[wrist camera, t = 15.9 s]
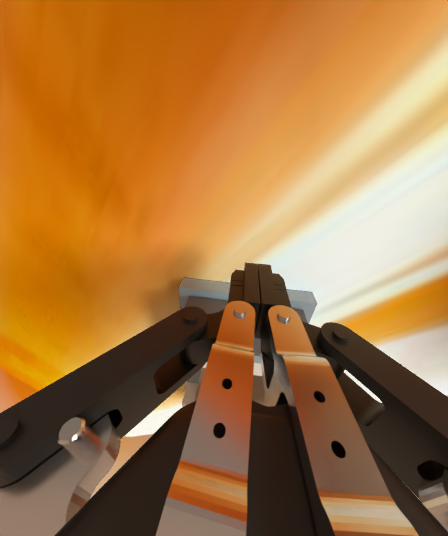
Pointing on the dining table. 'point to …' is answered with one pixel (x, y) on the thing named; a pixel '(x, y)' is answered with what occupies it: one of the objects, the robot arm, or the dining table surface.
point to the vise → (221, 292)
